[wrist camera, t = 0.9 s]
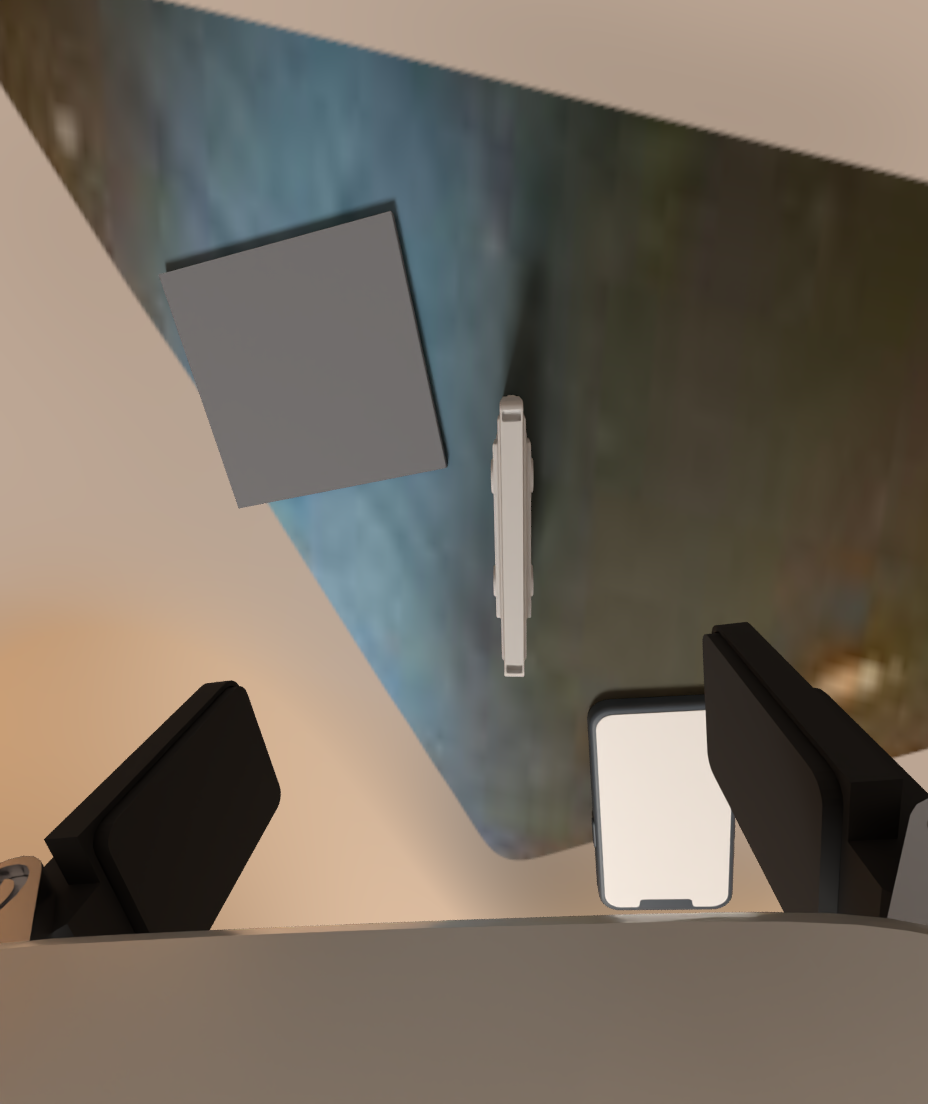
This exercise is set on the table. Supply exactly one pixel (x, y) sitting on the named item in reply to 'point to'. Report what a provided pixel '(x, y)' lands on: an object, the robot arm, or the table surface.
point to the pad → (309, 362)
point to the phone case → (658, 806)
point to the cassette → (512, 530)
